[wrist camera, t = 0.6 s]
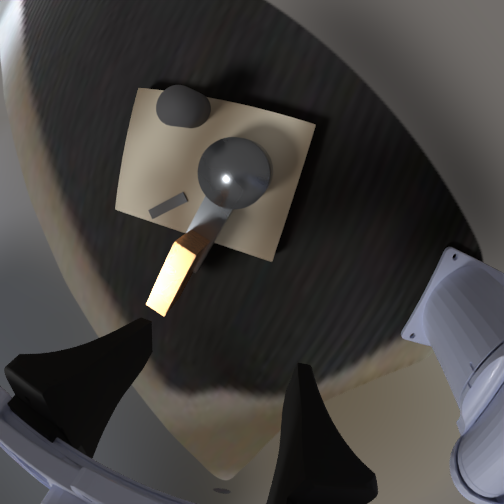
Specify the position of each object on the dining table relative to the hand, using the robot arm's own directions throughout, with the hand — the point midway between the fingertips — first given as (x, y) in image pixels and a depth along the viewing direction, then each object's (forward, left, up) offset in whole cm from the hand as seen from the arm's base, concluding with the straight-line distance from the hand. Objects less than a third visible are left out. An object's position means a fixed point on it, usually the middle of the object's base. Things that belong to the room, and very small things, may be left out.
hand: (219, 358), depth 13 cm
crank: (+4, -4, -7) cm, 9 cm away
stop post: (+7, -10, -8) cm, 15 cm away
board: (+5, -7, -8) cm, 12 cm away
